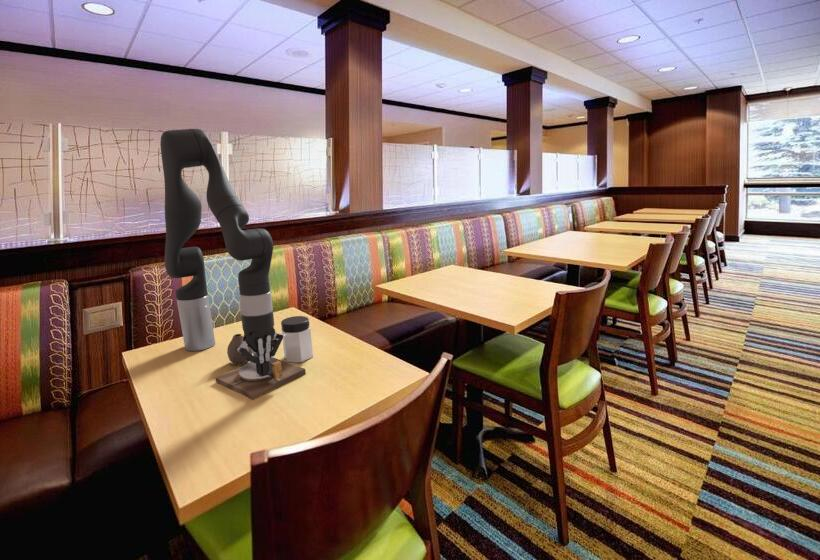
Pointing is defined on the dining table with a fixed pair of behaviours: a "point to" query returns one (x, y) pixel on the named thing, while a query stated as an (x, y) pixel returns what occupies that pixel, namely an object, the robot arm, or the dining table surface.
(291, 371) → the base
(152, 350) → the dining table surface
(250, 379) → the knob
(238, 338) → the vase
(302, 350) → the jar
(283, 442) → the dining table surface
